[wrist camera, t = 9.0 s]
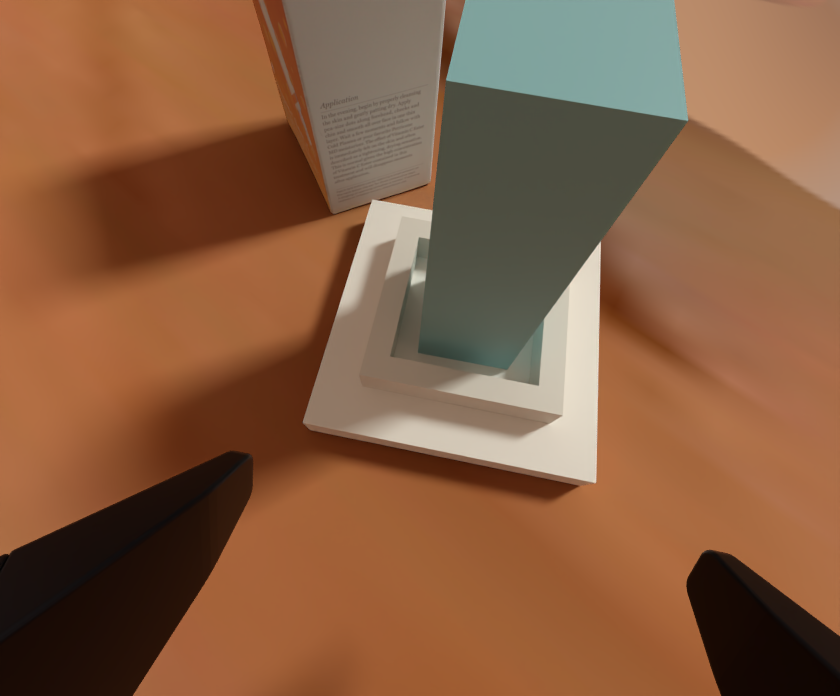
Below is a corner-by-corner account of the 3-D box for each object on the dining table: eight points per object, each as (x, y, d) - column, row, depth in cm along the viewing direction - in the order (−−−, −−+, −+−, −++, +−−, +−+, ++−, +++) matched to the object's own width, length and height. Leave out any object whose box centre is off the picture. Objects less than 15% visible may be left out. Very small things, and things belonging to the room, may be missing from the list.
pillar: (507, 369, 18) (687, 120, 7) (417, 352, 18) (445, 80, 7) (515, 292, 19) (672, -15, 8) (433, 277, 19) (476, -45, 8)
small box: (286, 123, 25) (179, -241, 13) (380, 98, 26) (363, -255, 14) (330, 219, 22) (247, -130, 10) (433, 186, 23) (467, -159, 11)
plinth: (580, 485, 17) (614, 480, 14) (310, 430, 18) (293, 414, 15) (588, 259, 22) (615, 221, 19) (374, 219, 22) (370, 177, 20)
